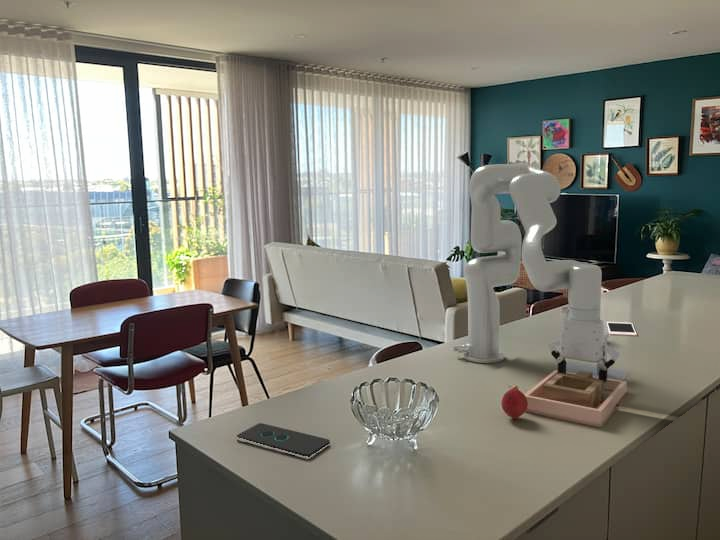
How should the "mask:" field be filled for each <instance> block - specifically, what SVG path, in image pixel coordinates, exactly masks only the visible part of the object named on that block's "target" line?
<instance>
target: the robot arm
mask: <svg viewBox="0 0 720 540" xmlns="http://www.w3.org/2000/svg"><path fill="white" fill-rule="evenodd" d="M468 184H469V198H470V203H471V214H470V216H471V218H470V244H471V248H472V250H473V251H475V252H476V253H479V254H488V253H497V255H489V256H478V257H475V258H472V259H471V260H469V261H468V262H467V263H466V264H465V266H464V270H463V272H464V273H463V275H464V280H465V286H466V293H467V322H468V323H467V341H465V343H464V344H462V345H459V344H453V345H452V349H453V350H452V351H453V352H458V353H459V354H460V353H461V354H462V353H463V354H462V355H463V359H465V360H466V361H469V362H471V363H479V364H492V363H499V362H502V361H503V360H504V359H505V356H506V355H505V353H504V352H502V351H501V350H500V299H499V296H498V295H497V294H496V292H495V290H494V288H495V287H496V288H497V287H503V286H508V285H513V284H514V283H515V282H517V280H518V279H519V277H520V273H521V263H522V266H523V267H524V270H525V273H526V275H527V277H528V279H529V281H530V283H531V285H532V286H533V287H534V288H535V289H536V290H538V291H539V292H542V293H543V292H544V293H546V292H547V293H548V292H554V291H560V290H561V291H563V290H568V291H567V293H568V295H567V296H568V297H567V298H568V299H567V306H565V307H562V309H561V312H562V313H564V314H566V317H565V318H564V319H563V322H562V327H561V333H560V338H559V339H556V340H554V341H551V342H549V343H548V344H547V348H548V350H549V351H550V352H551V353H550V354H551V356H552V357H553V358H554V359H555V361H556V363H557V370H558V373H563V374H566V364H567V360H566V359H570V360H575V361H582V362H589V363H596V364H597V363H598V365H599V366H600V367H601V369H600V370H599V380H604V383H605V382H606V381H607V370H608V368H610V367H612V366H614V364H615V363H616V362H617V361H618V359H619V357H620V356H621V352H619V351H617V350H616V349H614V348H612V347H611V346H609V344H607V345H606V344H605V332H606V331H605V326H604V320H602V319H601V300H602V277H603V276H602V269H601V267H600V266H598V265H597V264H591V263H583V262H580V261H577V260H574V259H562V260H551V261H547V260H546V258H545V255H544V253H543V250H542V238H543V236H544V235H546V234H547V233H549V232H550V231H552V230H554V228H555V227H556V225H557V222H558V221H557V218H556V215H555V213H554V210H553V208H552V206H551V203H553V202H556V201H557V200H558V198H559V197H560V194H561V184H560V182H559V180H558V178H557V177H556V176H555V175H554V174H552V173H551V172H548V171H546V170H543V169H540V168H536V167H534V166H532V165H528V164H523V163H521V164H520V163H509V164H508V163H506V164H505V163H504V164H503V163H500V164H499V163H497V164H496V163H495V164H487V165H483V166H480V167H478V168H477V169H476V170H475V171H473V173H472V175H471V176H470V179H469V183H468ZM502 194H503V195H504V194H506V195H507V194H509V196H510V197H511V200H512V202H513V205H514V207H515V210H516V212H517V214H518V217H519V220H520V222H521V225H522V227H523V229H524V232H525V235H524V237H523V241H522V232H521V229H520V227H519V226H518V224H517V223H516V222H514V221H512V220H508V219H504V220H503V219H502V220H501V212H502V211H501V205H500V202H499V200H498V198H497V197H496V195H502ZM558 346H559V351H558V349H557V348H556V347H558ZM605 352H607V354H608V355H610V356H611V358H610V359H609V360H607V361H606V359H605V358H604V356H605Z"/></svg>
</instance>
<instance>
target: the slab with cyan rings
mask: <svg viewBox="0 0 720 540" xmlns="http://www.w3.org/2000/svg"><path fill="white" fill-rule="evenodd" d="M236 437H239V438H243V439H246V440H249V441H253V442H256V443H260V444H263V445H267V446H270V447H273V448H278V449H281V450H285V451H288V452H292V453H295V454H299V455H302V456H308V457H310V456H311V455H312V454H314V453H316V452H317V451H319V450H320V449H322V448H323V447H325V446H326V445H328V444H330V445H331V443H330V439H329V438H323V437H321V436H315V435H311V434H307V433H304V432H299V431H295V430H292V429H288V428H283V427H278V426H274V425H272V424H271V425H270V424H267V423H266V424H265V423H263V422H262V423H261V422H260V423H257V424H255V425H253V426H251V427H249V428H247V429H245V430H244V431H242V432H240V433H239V434H236Z"/></svg>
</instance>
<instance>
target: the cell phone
mask: <svg viewBox="0 0 720 540" xmlns="http://www.w3.org/2000/svg"><path fill="white" fill-rule="evenodd" d="M606 323H607V324H606V326H607V327H608V328H607V331H608V333H609V336H620V335H626V336H627V337H637V336H638V334H637V332H636V331H637V330H636V329H635V327H634V323H633V322H626V321H625V322H622V321H606Z"/></svg>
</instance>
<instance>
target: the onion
mask: <svg viewBox="0 0 720 540" xmlns="http://www.w3.org/2000/svg"><path fill="white" fill-rule="evenodd" d="M524 394H525V393H523V392H522V391H521V390H519V386H518V385H513V387H512V388H511V389H509V390H507V391H506V392H505V393H504V394H503V397H502V399H501V408H502V410H503V412H504V413H505V414H506V416H509V418H511V419H514V420H517V419H518V418H520V417H521V416H523V415H524V414H525V413H527V412H526V410H527V406H528V402H527V399H526V397H525V395H524Z"/></svg>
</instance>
